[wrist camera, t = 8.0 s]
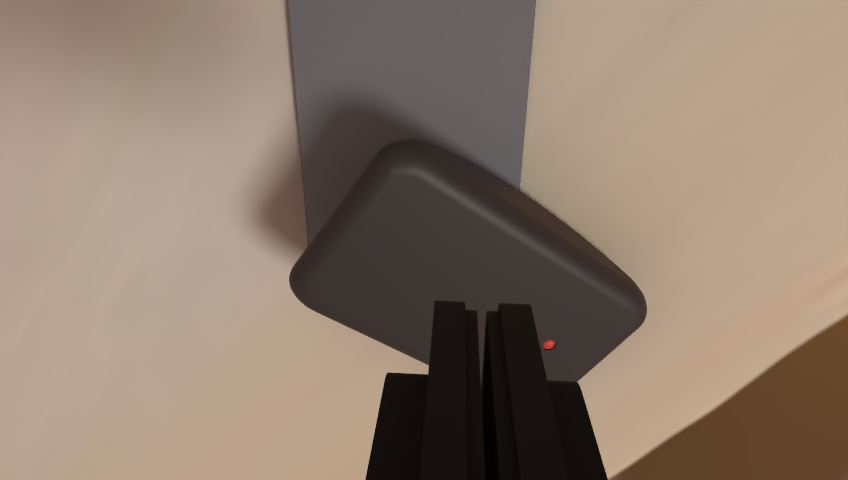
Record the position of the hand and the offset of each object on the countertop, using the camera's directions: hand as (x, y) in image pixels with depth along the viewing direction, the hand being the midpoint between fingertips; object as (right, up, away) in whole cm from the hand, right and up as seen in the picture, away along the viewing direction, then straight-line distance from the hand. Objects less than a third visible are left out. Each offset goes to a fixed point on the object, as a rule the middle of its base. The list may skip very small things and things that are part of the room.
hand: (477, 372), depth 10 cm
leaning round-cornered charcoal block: (+5, +3, +15) cm, 16 cm away
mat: (-2, +8, +17) cm, 19 cm away
